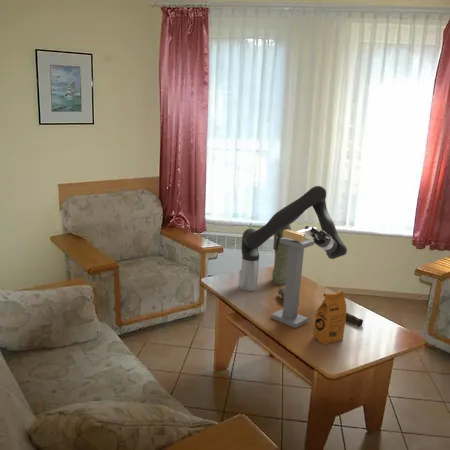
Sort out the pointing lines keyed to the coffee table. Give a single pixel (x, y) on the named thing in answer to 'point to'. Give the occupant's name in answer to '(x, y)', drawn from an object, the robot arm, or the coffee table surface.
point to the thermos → (280, 258)
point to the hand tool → (354, 320)
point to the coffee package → (330, 318)
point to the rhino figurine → (281, 292)
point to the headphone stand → (293, 283)
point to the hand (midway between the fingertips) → (308, 228)
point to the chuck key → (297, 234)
